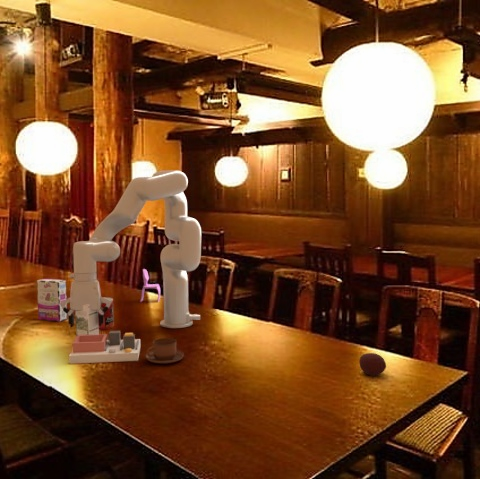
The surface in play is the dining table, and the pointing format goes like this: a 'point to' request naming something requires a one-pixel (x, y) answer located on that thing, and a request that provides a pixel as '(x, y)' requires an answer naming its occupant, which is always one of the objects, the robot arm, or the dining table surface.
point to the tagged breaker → (129, 340)
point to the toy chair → (149, 285)
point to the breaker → (114, 338)
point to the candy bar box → (51, 299)
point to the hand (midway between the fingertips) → (86, 325)
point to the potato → (372, 364)
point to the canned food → (107, 316)
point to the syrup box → (87, 321)
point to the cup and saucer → (164, 351)
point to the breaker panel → (101, 350)
